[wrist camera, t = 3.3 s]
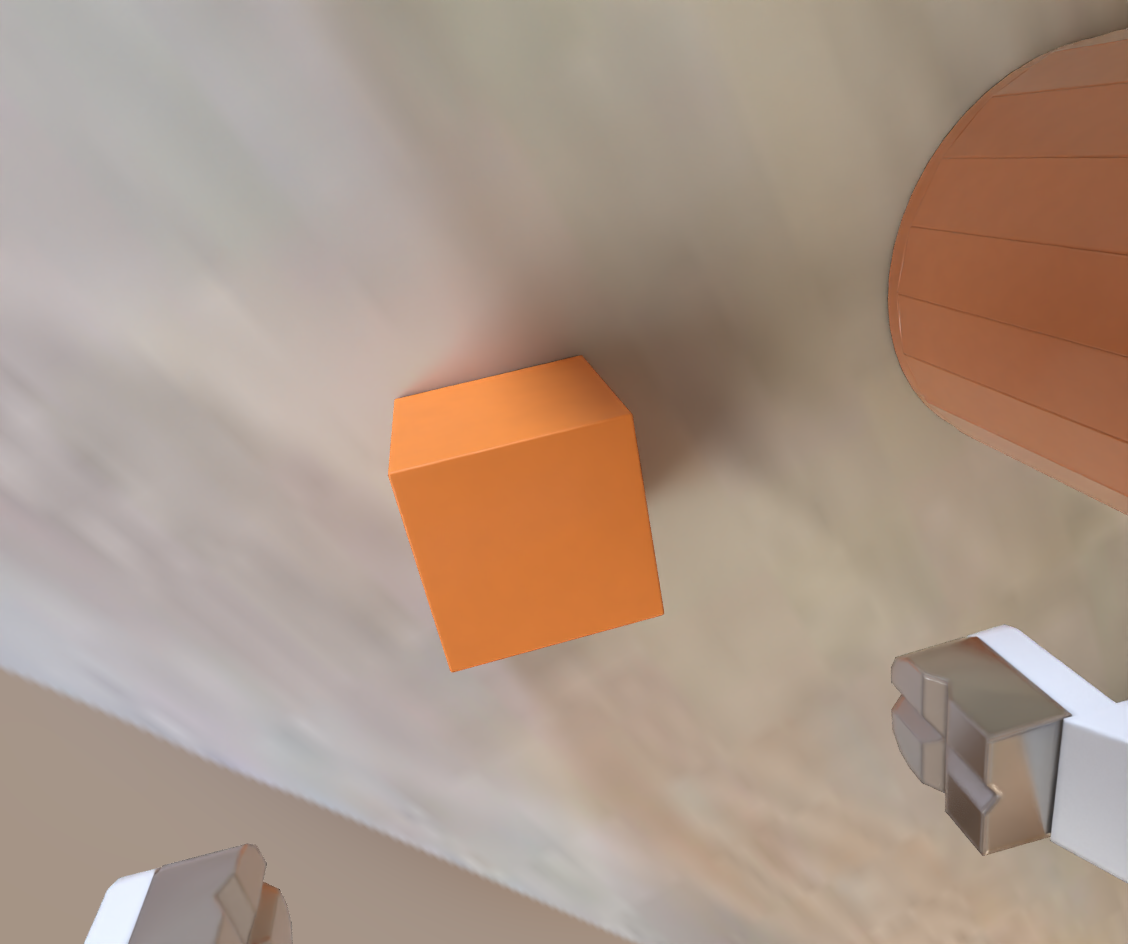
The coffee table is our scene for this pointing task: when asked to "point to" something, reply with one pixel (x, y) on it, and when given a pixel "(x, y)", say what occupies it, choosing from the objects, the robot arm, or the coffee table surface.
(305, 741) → the coffee table surface
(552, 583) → the block
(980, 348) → the copper cup
